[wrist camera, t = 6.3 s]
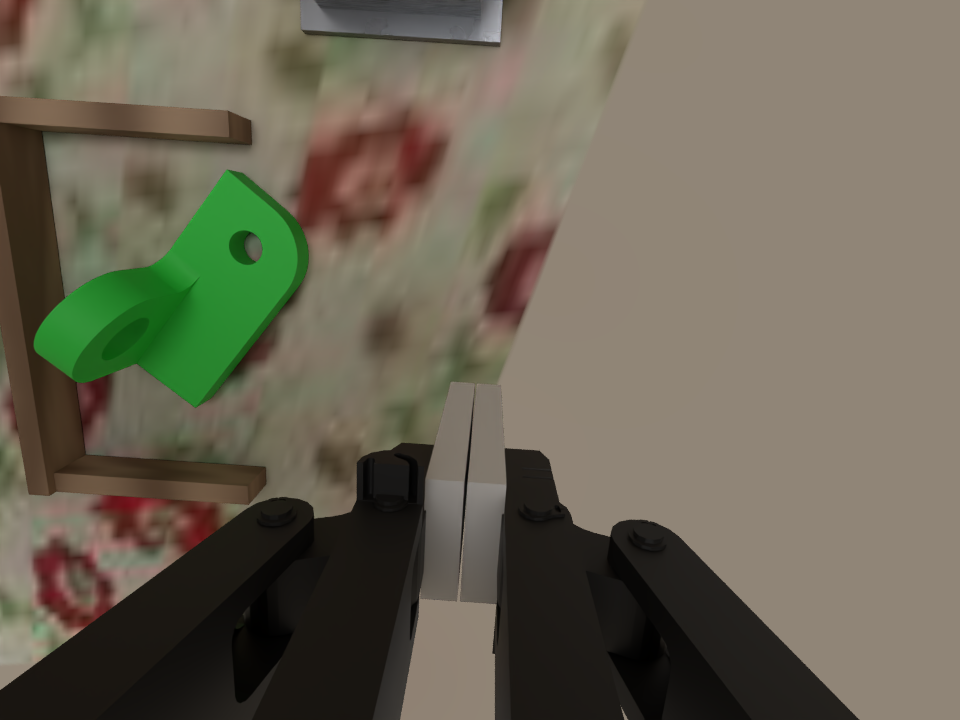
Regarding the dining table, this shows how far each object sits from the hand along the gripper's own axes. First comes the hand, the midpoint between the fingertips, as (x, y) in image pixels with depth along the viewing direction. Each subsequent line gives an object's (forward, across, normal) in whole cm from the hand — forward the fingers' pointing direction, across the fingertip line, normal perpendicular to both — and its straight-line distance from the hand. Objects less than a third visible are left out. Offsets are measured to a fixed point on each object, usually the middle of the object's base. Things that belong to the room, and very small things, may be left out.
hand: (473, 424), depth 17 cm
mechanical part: (+15, -15, +2) cm, 21 cm away
